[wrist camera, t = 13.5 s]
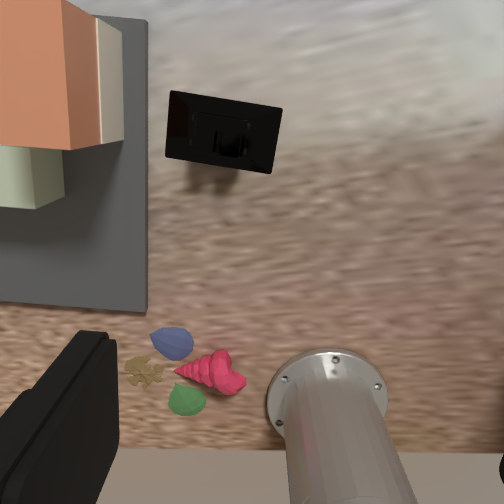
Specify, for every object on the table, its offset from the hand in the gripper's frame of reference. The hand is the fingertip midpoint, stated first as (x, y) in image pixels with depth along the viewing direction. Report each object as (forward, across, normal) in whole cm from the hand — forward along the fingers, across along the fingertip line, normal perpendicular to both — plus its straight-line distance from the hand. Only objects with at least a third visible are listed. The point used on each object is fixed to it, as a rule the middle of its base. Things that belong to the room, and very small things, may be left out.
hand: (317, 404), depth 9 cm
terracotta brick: (+22, +15, -7) cm, 28 cm away
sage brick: (+27, +22, 0) cm, 35 cm away
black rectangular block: (+29, +5, -4) cm, 30 cm away
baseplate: (+28, +18, 0) cm, 34 cm away
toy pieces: (+29, +8, +20) cm, 36 cm away
